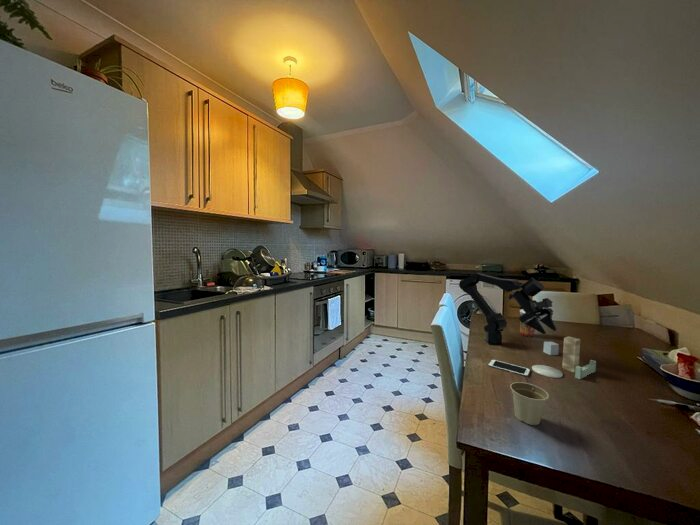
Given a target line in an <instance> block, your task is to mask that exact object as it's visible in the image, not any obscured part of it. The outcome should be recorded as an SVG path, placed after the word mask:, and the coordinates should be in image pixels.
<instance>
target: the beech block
mask: <svg viewBox="0 0 700 525" xmlns="http://www.w3.org/2000/svg"><path fill="white" fill-rule="evenodd" d="M580 350H581V339H580V338H578V337H577V338H576V337H572V336H566V337H564V338H563V349H562V365H561V369H562V368H563V369H562V370H565V369H566V371H568V372H571V373H575V370H576V366H580V365H579V364H580V354H581V353H580Z"/></svg>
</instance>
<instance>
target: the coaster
mask: <svg viewBox="0 0 700 525" xmlns="http://www.w3.org/2000/svg"><path fill="white" fill-rule="evenodd" d="M531 370H532V371H533V372H534V373H535V374H538V375H541V376H543V377H546V378H551V379H552V378H553V379H560V378H562V377H563V375H564V374H563V371H561V370H559V369H557V368H555V367H552V366H548V365H543V364H535V365H532V366H531Z"/></svg>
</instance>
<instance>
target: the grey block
mask: <svg viewBox="0 0 700 525" xmlns="http://www.w3.org/2000/svg"><path fill="white" fill-rule="evenodd" d="M559 346H560V344H559V343H556V342H554V341H543V353H545V354H547V355H549V356H559Z"/></svg>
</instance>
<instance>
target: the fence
mask: <svg viewBox="0 0 700 525" xmlns="http://www.w3.org/2000/svg"><path fill="white" fill-rule="evenodd" d="M596 367H597V361H596V360H593V359H589V363H588V364H586V365H583V366H580V365H579V366H576V370H575V372H574V378H575V379H578V380H582V379H583V378H585V377H588V376H589V374H590V375H591V373H592V374H594V373H596ZM587 375H588V376H587Z"/></svg>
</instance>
